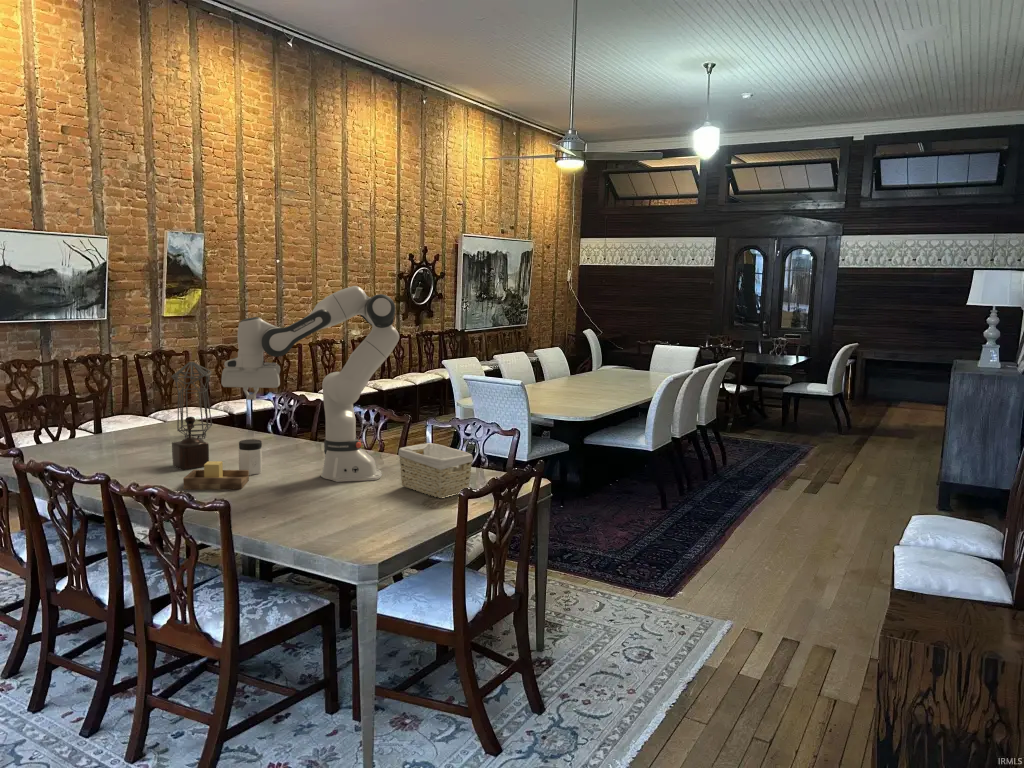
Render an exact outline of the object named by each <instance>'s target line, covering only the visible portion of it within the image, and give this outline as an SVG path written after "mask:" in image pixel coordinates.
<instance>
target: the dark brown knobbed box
mask: <svg viewBox="0 0 1024 768" xmlns="http://www.w3.org/2000/svg"><path fill="white" fill-rule="evenodd" d="M184 422H185V423H186V425H187V424H188V427H187V426H186V428H185V429H184V428H183V431H184V432H186V431H187V433H188V432H189V436H188V438H185V437H184V439H181V440H179V441H174V442H171V455H172V456H171V457H172V466H173V467H175V468H177V469H179V470H182V471H188V470H197V469H202V468H204V464H205V463H207V462H208V461H210V453H209V450H210V444H209V443H208V442H207V441H204V439H198V438H200V435H199V436H197V437H196V436H195V437H194V436H191V434H192V432H191V430H193V429H194V428H195V426H194V425H195V424H194V423H195V422H196V418H195V417H194V416H188V417H185V419H184ZM183 431H182V432H183Z"/></svg>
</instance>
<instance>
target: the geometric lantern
mask: <svg viewBox="0 0 1024 768" xmlns="http://www.w3.org/2000/svg"><path fill="white" fill-rule="evenodd" d="M186 368H187V370H186V371H184V370H185V369H186ZM194 368H195V369H196V371H197V372H194ZM189 370H190V372H189ZM212 373H213V372H212V370H209V369H208V368H206V367H204V366H202V365H199V364H198V363H196V362H195V361H188V362H187V363H186V364H184V365H183V366H182V367H181V368H180V369H179V370H178V371H176V372H174V373H173V374H172V375H171V376H170V377H171V378H172V379H173V380H174V382H175V386H176V390H177V423H176V424H177V425H176V427H177V432H179V433H181V434H183V435H184V439H185V438H188V436H189V432H188V431H183V429H186V428H187V427H188V424H187V423H186V424H184V394H185V409H186V410H185V412H186V413H185V414H186V417H185V418H187V417H189V416H188V414H189V413H188V394H198V398H199V407H200V408H199V409H200V419H201V423H198V424H193V425H194V427H195V426H201V429H191V436H192V437H194V436H195V437H196V436H197V437H198V436H199V438H198V439H201V440H204V439H206V438H207V432H208V430H210V428H212V426H213V420H212V415H211V407H210V406H211V405H210V399H209V398H210V397H209V391H208V389H209V383H210V380H211V375H212ZM180 374H181V376H180ZM197 374H198V375H197ZM183 375H184V376H183ZM195 375H196V376H195ZM203 377H205V383H203V382H202V381H201V379H202V378H203ZM180 378H182V379H183V381H182V380H181V379H180ZM186 379H190V381H189V382H186ZM197 381H199V382H200V384H201V385H202V387H203V388H202V387H201V388H200V389H199V388H198V387H197V386H196V384H195V382H197ZM180 382H181V383H183V385H182V384H181V383H180ZM178 383H179V385H180V387H181V389H179V385H178ZM191 384H192V385H193V386H194V387H195V388H189V386H190V385H191ZM186 385H187V387H186V388H185V386H186ZM190 390H193V391H192V392H191V391H190ZM194 390H197V391H196V392H194ZM200 390H202V391H200ZM184 391H185V392H184ZM188 391H189V392H188ZM201 394H202V397H203V404H204V406H203V407H204V414H205V422H206V423H204V419H203V411H202V410H203V409H202V399H201ZM208 414H209V417H208ZM208 418H209V419H208ZM209 420H210V423H209ZM179 421H180V423H179ZM179 424H180V425H179ZM179 426H180V427H179ZM204 426H205V427H204ZM185 427H186V428H185ZM193 432H194V433H195V432H197V433H195V434H194V433H193ZM198 432H202V433H198ZM200 436H201V437H200Z"/></svg>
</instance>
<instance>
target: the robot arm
mask: <svg viewBox="0 0 1024 768" xmlns="http://www.w3.org/2000/svg"><path fill="white" fill-rule="evenodd" d="M358 315H359V317H361V318H362V319H364V321H365V322H366V323H368V324H369V325H370V326H371V327H372V328H371V331H370V332H369V333H368V335H367V336H366V337H365V338H364V339H363V340H362V341H361V342H360V344H359V345H358V346H357V347H356V348H355V349H353V351H352V353H351V354H350V355H349V357H348V359H347V361H346V363H345V364H344V366H343V367H342V368H341V370H340V371H334V372H330V373H328V374H327V375H326V376H324V378H323V380H322V385H321V387H322V397H323V399H322V401H323V409H324V418H325V439H324V442H323V453H324V460H323V467H322V472H321V475H320V476H321V478H322V479H326V480H330V481H334V482H337V483H338V482H339V483H341V482H359V481H360V482H361V481H365V482H366V481H376V480H379V479H380V478H381V477H382V475H383V474H382V471H381V470H380V469H378V468H377V466H376V461H375V458H374V457H373V456H371V455H370V454H369V453H367V452H366V451H365V450H364V449H362V442H361V439H358V438H357V435H356V434H357V433H356V431H357V429H356V425H357V423H356V422H357V420H356V419H357V418H356V416H355V409H354V404H355V403H356V402H357V401H358V400H359V399H360V398H361V397H360V396H361V394H362V392H363V390H365V387H366V386H367V384H368V383H369V381H370V379H372V377H373V375H374V374H375V373H376V371H377V370H378V369H379V368H380V367H381V366H382V365H383V363H384V362H385V361H386V360H387V359H388V357H389V356H390V355H391V353H393V351H394V350H395V347H396V346H397V345H398V342H399V340H400V333H399V332H398V330H397V328H396V327H394V326H393V324H394V320H395V315H396V304H395V302H394V300H393V299H392V297H390V296H388V295H386V294H383V293H382V294H381V293H378V294H375V295H373V296H368V295H367V294H366V292H365V290H363V288H362V287H360V286H358V285H352V286H349V287H346V288H342V289H339V290H337V291H335V292H333V293H331V294H329V295H328V296H325V297H324V298H322V300H320V301H319V302H317V303H316V305H314V308H313V310H312V311H311V312H310V313H308V315H307V316H305V317H303V318H301V319H299V320H297V321H295V322H294V323H292V324H289V325H288V326H286V327H285V326H284V327H281V326H277V325H273V324H272V323H269V322H267V321H266V320H263V319H262V318H261V317H259V316H258V317H257V316H256V317H249V318H244V319H242V320H241V321H240V322H239V323H238V326H237V344H238V351H237V357H233V358H231V359H229V360H227V359H226V361H224V367H225V368H223V370H222V373H221V380H220V381H221V386H222V387H223V388H242V390H243V392H244V395H246V400H247V401H249V400H250V401H251V400H252V401H254V400H256V399H257V397H256V396H257V393H258V392H259V390H260V388H261V389H263V388H265V389H269V388H271V389H278V388H279V386H280V385H281V380H280V373H281V366H280V365H279V364H278V363H276V362H269V361H267V362H264V352H265V353H266V354H267V355H269V356H271V357H276V358H277V357H282V356H285V355H286V354H287V353H288V352H290V351H291V349H292V348H293V346H294V345H295V344H296V343H298V342H299V341H301V340H303V339H305V338H306V337H307V338H308V337H309V336H310V335H312V334H314V333H316V332H318V331H320V330H323V329H328V328H330V327H334V326H337V325H339V324H341V323H344V322H346V321H347V320H350V319H351V318H354V317H355V316H358ZM249 388H251V389H253V393H252V394H250V393H249V391H248V390H249Z"/></svg>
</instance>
